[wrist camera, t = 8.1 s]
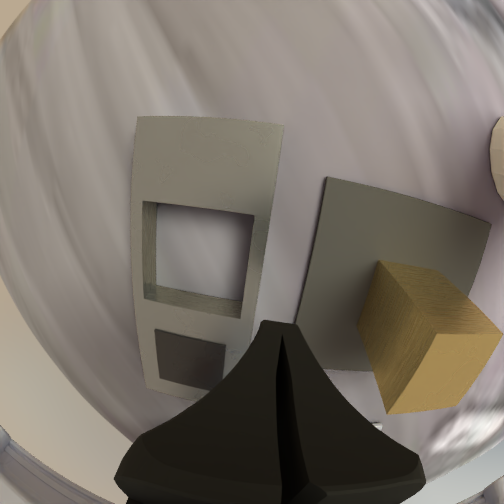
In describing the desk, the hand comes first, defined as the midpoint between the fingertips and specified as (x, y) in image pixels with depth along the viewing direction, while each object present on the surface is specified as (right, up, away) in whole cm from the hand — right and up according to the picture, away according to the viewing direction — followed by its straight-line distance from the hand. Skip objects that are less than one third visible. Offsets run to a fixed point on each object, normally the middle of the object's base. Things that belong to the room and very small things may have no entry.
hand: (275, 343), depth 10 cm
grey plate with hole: (-4, +2, +6) cm, 7 cm away
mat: (+8, +1, +5) cm, 9 cm away
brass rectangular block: (+8, +1, +5) cm, 9 cm away
